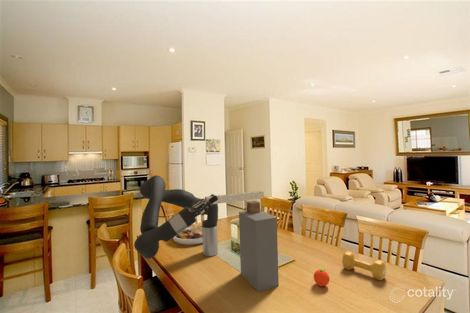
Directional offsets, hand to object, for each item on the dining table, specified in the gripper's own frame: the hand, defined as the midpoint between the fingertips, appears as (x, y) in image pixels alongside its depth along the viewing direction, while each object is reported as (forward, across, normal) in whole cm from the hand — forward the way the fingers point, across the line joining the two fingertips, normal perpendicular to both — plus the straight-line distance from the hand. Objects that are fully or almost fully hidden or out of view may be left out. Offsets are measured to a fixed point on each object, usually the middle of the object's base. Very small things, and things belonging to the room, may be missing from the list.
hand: (215, 196), depth 107 cm
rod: (+7, 0, +7) cm, 10 cm away
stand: (-3, +2, +48) cm, 48 cm away
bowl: (-16, +73, +41) cm, 85 cm away
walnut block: (+14, +8, +21) cm, 26 cm away
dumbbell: (+40, -16, +73) cm, 85 cm away
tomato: (+18, -15, +60) cm, 65 cm away
